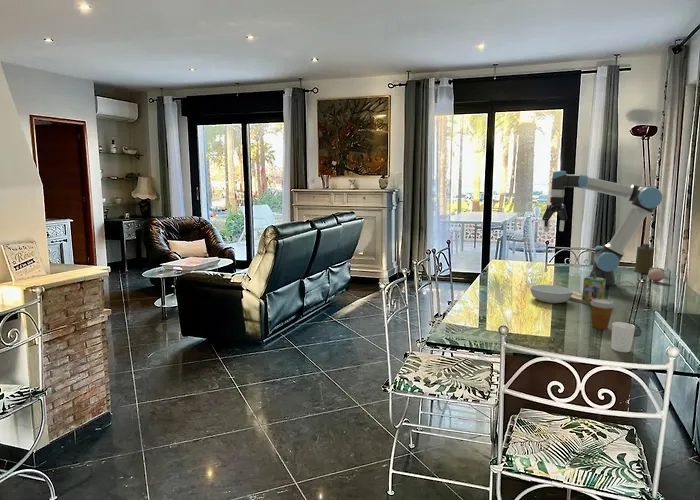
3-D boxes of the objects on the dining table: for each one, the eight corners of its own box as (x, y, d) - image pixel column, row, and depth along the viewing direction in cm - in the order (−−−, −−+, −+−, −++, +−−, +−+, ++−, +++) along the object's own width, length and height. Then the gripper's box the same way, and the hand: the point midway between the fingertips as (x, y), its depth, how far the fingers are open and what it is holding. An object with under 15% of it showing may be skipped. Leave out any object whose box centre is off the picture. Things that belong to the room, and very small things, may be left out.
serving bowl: (569, 298, 275) (570, 286, 274) (572, 308, 256) (574, 295, 254) (529, 294, 282) (530, 282, 281) (529, 304, 262) (530, 291, 261)
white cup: (611, 344, 204) (613, 320, 202) (633, 348, 200) (636, 324, 198) (608, 350, 198) (610, 325, 196) (630, 354, 193) (634, 329, 192)
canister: (654, 274, 349) (658, 245, 345) (639, 273, 349) (642, 244, 345) (645, 270, 359) (649, 242, 356) (630, 270, 359) (634, 242, 356)
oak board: (569, 292, 289) (569, 289, 289) (607, 302, 269) (608, 299, 269) (552, 294, 283) (552, 292, 282) (591, 305, 262) (591, 302, 262)
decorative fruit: (648, 282, 321) (650, 267, 319) (646, 280, 328) (648, 265, 326) (665, 284, 317) (667, 268, 315) (662, 281, 325) (664, 266, 323)
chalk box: (600, 302, 262) (603, 274, 260) (581, 299, 268) (584, 272, 265) (604, 299, 269) (607, 272, 267) (586, 296, 275) (589, 269, 273)
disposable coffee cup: (583, 323, 231) (586, 298, 229) (603, 323, 232) (606, 298, 230) (595, 330, 221) (598, 303, 219) (616, 330, 222) (619, 304, 220)
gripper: (565, 196, 315) (562, 229, 319) (537, 196, 303) (534, 231, 306) (576, 196, 309) (572, 231, 312) (548, 197, 296) (544, 233, 300)
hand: (553, 231), depth 309 cm, fingers open, 13 cm apart
